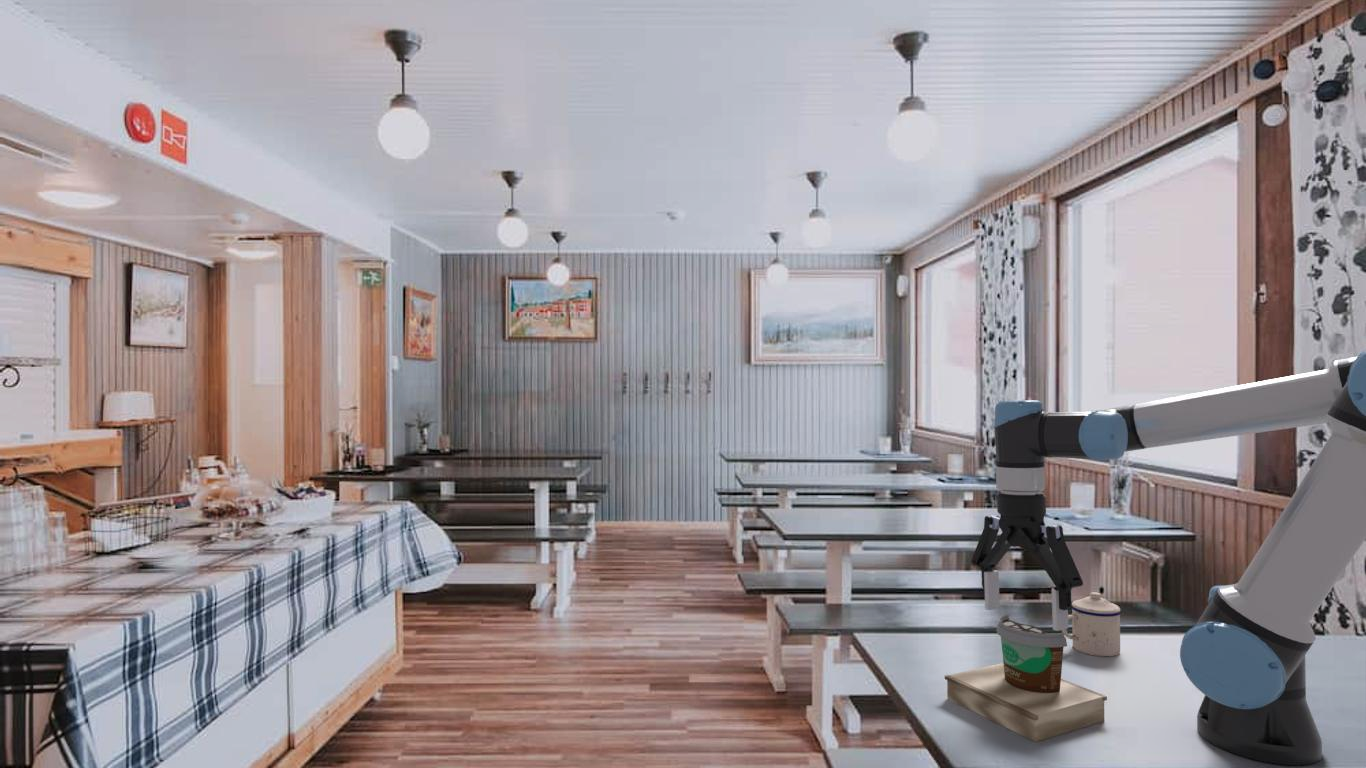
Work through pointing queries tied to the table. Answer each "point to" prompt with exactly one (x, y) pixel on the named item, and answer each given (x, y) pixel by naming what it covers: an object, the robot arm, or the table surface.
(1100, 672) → the table surface
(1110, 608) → the teacup with lid
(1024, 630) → the food container
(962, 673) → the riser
